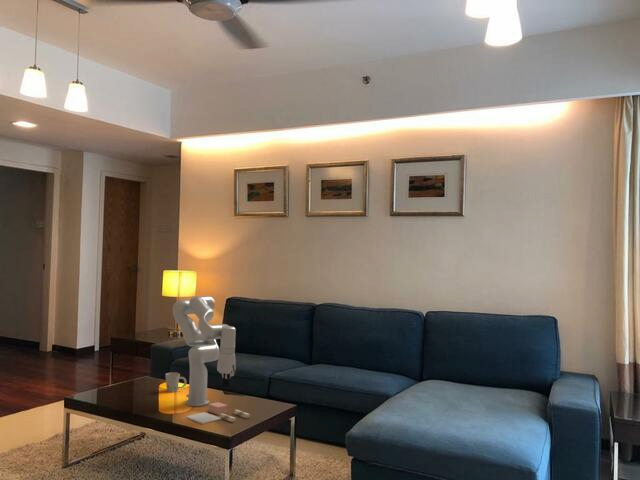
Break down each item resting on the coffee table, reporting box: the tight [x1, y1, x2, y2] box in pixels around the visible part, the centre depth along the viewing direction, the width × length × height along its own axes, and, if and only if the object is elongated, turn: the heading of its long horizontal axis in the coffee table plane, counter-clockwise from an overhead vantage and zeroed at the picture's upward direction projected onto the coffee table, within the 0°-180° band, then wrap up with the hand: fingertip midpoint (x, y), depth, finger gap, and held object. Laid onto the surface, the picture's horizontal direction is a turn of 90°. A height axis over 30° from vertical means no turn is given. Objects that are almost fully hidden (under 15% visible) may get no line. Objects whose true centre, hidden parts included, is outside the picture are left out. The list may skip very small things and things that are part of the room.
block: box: [207, 401, 228, 416], centre depth 269 cm, size 8×6×4 cm
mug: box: [164, 371, 187, 393], centre depth 308 cm, size 8×13×10 cm, turn 96°
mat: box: [185, 411, 222, 425], centre depth 257 cm, size 14×11×1 cm
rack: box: [218, 409, 251, 424], centre depth 260 cm, size 11×11×2 cm
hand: (226, 386), depth 265 cm, fingers closed
